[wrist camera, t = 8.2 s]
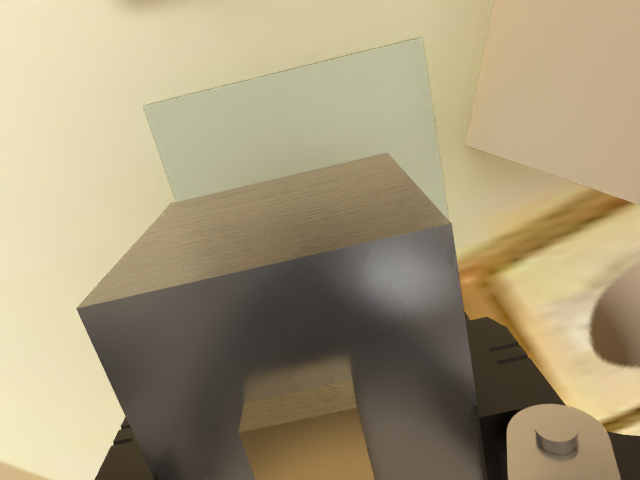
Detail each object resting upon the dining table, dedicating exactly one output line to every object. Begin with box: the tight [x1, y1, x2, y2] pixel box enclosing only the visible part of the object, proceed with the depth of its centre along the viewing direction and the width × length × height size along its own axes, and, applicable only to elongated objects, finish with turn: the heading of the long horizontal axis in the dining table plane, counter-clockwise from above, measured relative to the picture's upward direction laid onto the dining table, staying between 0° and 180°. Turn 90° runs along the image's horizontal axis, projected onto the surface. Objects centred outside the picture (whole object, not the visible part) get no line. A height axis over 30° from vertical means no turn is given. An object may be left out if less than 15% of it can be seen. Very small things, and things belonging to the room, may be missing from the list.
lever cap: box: [76, 153, 484, 480], centre depth 10 cm, size 5×8×6 cm, turn 13°
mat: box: [143, 37, 449, 220], centre depth 26 cm, size 14×12×1 cm
